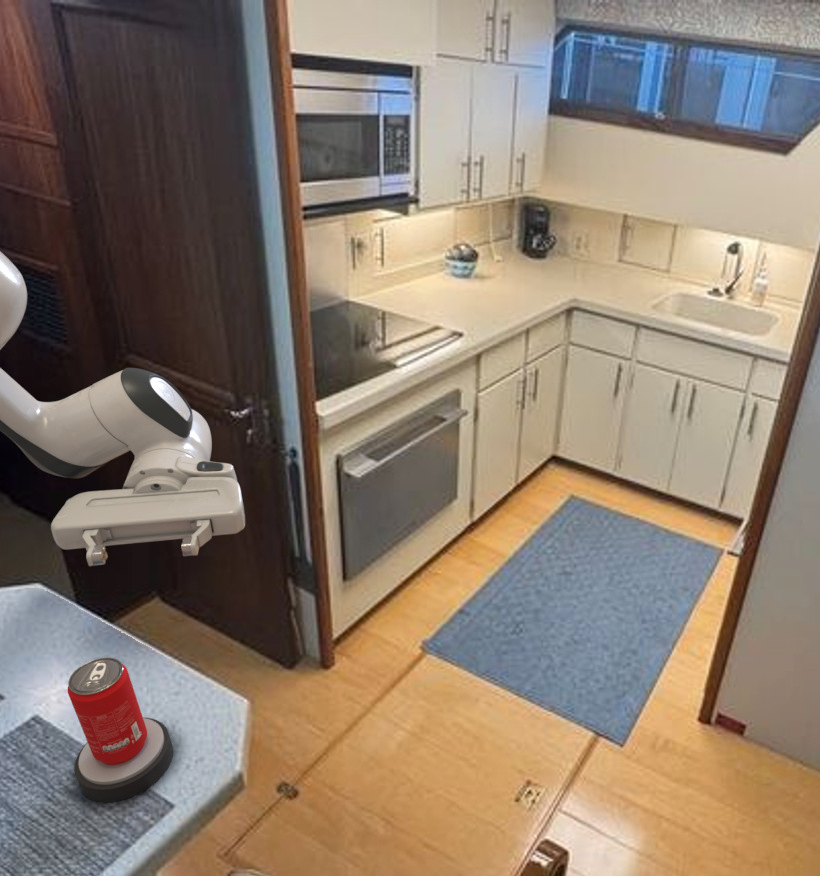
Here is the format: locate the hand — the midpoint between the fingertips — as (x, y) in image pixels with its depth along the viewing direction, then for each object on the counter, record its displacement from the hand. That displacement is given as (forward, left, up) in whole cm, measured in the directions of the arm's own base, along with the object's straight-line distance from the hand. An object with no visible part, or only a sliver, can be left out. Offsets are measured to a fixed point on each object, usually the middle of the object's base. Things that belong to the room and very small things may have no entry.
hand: (142, 556), depth 80 cm
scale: (-1, -13, -20) cm, 24 cm away
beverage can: (-1, -13, -17) cm, 21 cm away
